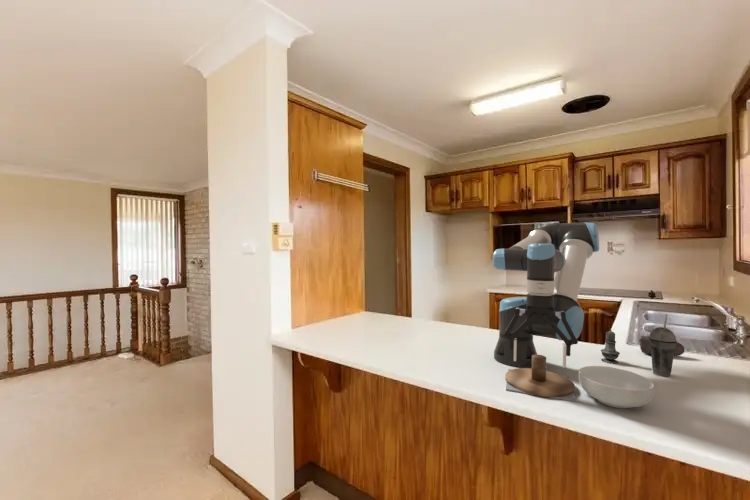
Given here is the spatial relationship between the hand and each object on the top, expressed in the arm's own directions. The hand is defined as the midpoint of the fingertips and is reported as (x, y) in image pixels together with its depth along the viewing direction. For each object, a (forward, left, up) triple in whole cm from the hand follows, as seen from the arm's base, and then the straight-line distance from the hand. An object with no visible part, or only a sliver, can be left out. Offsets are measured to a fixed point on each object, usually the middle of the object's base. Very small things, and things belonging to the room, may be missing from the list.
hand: (538, 363), depth 107 cm
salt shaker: (+25, +34, -7) cm, 43 cm away
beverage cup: (+38, +26, -7) cm, 47 cm away
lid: (0, 0, -6) cm, 6 cm away
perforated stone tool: (+45, +51, -7) cm, 68 cm away
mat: (0, 0, -7) cm, 7 cm away
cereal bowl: (+18, -5, -7) cm, 20 cm away
